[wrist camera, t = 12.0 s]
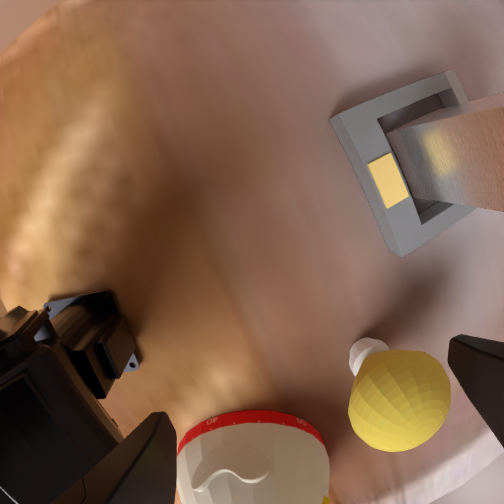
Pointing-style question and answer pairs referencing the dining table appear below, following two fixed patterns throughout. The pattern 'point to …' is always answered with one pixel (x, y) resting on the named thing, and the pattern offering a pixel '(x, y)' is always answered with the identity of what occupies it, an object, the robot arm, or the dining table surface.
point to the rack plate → (396, 164)
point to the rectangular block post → (455, 153)
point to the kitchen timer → (253, 461)
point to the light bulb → (396, 395)
